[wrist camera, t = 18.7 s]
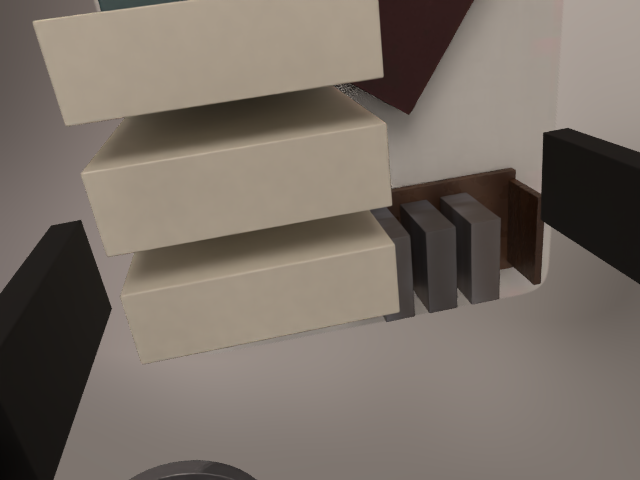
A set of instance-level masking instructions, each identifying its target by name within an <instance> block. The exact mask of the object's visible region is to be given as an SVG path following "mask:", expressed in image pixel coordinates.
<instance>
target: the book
mask: <svg viewBox="0 0 640 480" xmlns="http://www.w3.org/2000/svg"><path fill="white" fill-rule="evenodd" d="M473 1H474V0H378V3H379V17H380V31H381V45H382V60H383V74H384V76H383V78H378V79H372V80H365V81H359V82H352V83H351V84H353V85H355V86H357V87H359V88H360V89H362V90H364V91H366V92H368V93H370V94H372V95H374V96H375V97H377V98H379V99H381V100H382V101H384V102H386V103H388V104H390V105H392V106H394V107H396V108H397V109H399V110H401V111H403V112H404V113H406V114H408V115H409V114H410V113H411V111H412V110H413V108H414V106H415V104H416V102H417V100H418V99H419V97H420V95H421V94H422V92H423V90H424V88H425V87H426V85H427V83H428V81H429V79H430V78H431V76H432V74H433V72H434V71H435V69H436V67H437V65H438V63H439V62H440V60H441V58H442V56H443V55H444V53H445V51H446V49H447V48H448V46H449V44H450V42H451V40H452V38H453V37H454V35H455V33H456V31H457V29H458V27H459V26H460V24H461V22H462V20H463V18H464V17H465V15H466V13H467V11H468V10H469V8H470V6H471V4H472V3H473Z"/></svg>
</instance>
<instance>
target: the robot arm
mask: <svg viewBox="0 0 640 480" xmlns="http://www.w3.org/2000/svg"><path fill="white" fill-rule="evenodd" d="M541 220H542V221H543V222H545V223H546V224H548V225H549V226H551V227H553V228H554V229H556V230H557V231H559V232H560V233H562V234H563V235H565V236H566V237H568V238H569V239H571V240H573V241H574V242H576V243H577V244H579V245H580V246H582V247H583V248H585V249H587V250H588V251H590V252H591V253H593V254H594V255H596V256H597V257H599V258H600V259H602V260H603V261H605V262H606V263H608V264H610V265H611V266H613V267H614V268H616V269H617V270H619V271H620V272H622V273H624V274H625V275H626V276H628V277H630V278H631V279H633V280H634V281H636V282H637V283H639V284H640V152H637V151H634V150H631V149H628V148H625V147H622V146H619V145H616V144H613V143H610V142H607V141H605V140H602V139H599V138H596V137H593V136H590V135H587V134H584V133H581V132H578V131H575V130H572V129H569V128H565V129H560V130H555V131H549V132H544V133H543V161H542V192H541ZM111 309H112V308H111V305H110V302H109V299H108V296H107V293H106V290H105V287H104V285H103V282H102V279H101V276H100V273H99V270H98V267H97V264H96V262H95V259H94V256H93V253H92V250H91V247H90V244H89V241H88V239H87V236H86V233H85V230H84V228H83V224H82V221H81V220H78V221H73V222H68V223H63V224H58V225H52V226H51V227H50V228H49V229H48V231H47V232H46V233H45V235H44V236H43V237H42V239H41V240H40V241H39V243H38V244H37V245H36V247H35V248H34V250H33V251H32V252H31V253H30V255H29V256H28V257H27V259H26V260H25V261H24V263H23V264H22V265H21V267H20V268H19V269H18V271H17V272H16V273H15V275H14V276H13V277H12V279H11V280H10V281H9V283H8V284H7V285H6V287H5V288H4V289H3V291H2V292H1V293H0V480H53V479H54V476H55V473H56V471H57V467H58V465H59V462H60V459H61V456H62V453H63V450H64V447H65V444H66V441H67V438H68V435H69V433H70V430H71V426H72V423H73V421H74V418H75V415H76V412H77V409H78V406H79V403H80V400H81V397H82V394H83V392H84V389H85V386H86V383H87V380H88V377H89V374H90V371H91V368H92V365H93V362H94V359H95V356H96V353H97V350H98V347H99V345H100V341H101V339H102V336H103V333H104V330H105V327H106V324H107V321H108V318H109V315H110V312H111Z"/></svg>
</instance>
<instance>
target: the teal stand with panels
mask: <svg viewBox="0 0 640 480" xmlns="http://www.w3.org/2000/svg"><path fill="white" fill-rule="evenodd" d="M98 1H99V5H100V9H101V12H104V11H111V10H119V9H126V8H134V7H141V6H149V5H156V4H164V3H171V2H179V1H186V0H98ZM81 177H82V180H83V183H84V186H85V190H86V193H87V196H88V199H89V202H90V205H91V208H92V211H93V215H94V218H95V221H96V224H97V227H98V230H99V233H100V237H101V240H102V243H103V246H104V249H105V252H106V255H107V257H111V256H118V255H123V254H128V253H134V255H133V259H132V262H131V265H130V268H129V271H128V274H127V277H126V280H125V283H124V286H123V289H122V292H121V295H120V299H121V301H122V305H123V308H124V311H125V314H126V317H127V320H128V324H129V326H130V330H131V333H132V336H133V339H134V342H135V345H136V349H137V352H138V355H139V358H140V361H141V364H148V363H152V362H158V361H163V360H168V359H172V358H178V357H182V356H187V355H192V354H197V353H202V352H207V351H212V350H217V349H222V348H227V347H232V346H237V345H241V344H246V343H251V342H256V341H261V340H266V339H271V338H276V337H281V336H286V335H291V334H295V333H300V332H305V331H310V330H315V329H320V328H325V327H330V326H335V325H340V324H345V323H350V322H354V321H359V320H364V319H369V318H374V317H379V316H384V315H389V314H394V313H398V312H399V311H400V308H399V294H398V280H397V266H396V252H395V244H394V243H393V241H392V240H391V239H390V237H389V236H388V235H387V233H386V232H385V231H384V229H383V228H382V227H381V225H380V224H379V222H378V221H377V220H376V218H375V217H374V216H373V214H372V213H371V212H370V210H372V209H377V208H383V207H388V206H392V193H391V179H390V165H389V151H388V137H387V124H386V123H385V122H384V121H382V120H381V119H379V118H378V117H377V116H375V115H374V114H372V113H371V112H369V111H368V110H367V109H365V108H364V107H362V106H361V105H360V104H358V103H357V102H355V101H354V100H352V99H351V98H350V97H348V96H347V95H345V94H344V93H343V92H341V91H340V90H338V89H337V88H335V87H334V86H326V87H320V88H313V89H307V90H300V91H294V92H287V93H281V94H275V95H268V96H262V97H255V98H249V99H242V100H236V101H229V102H223V103H216V104H210V105H203V106H197V107H190V108H184V109H177V110H171V111H165V112H158V113H152V114H145V115H139V116H132V117H126V118H124V120H123V121H122V122H121V123H120V125H119V126H118V127H117V128H116V130H115V131H114V132H113V133H112V135H111V136H110V137H109V138H108V140H107V141H106V142H105V143H104V145H103V146H102V147H101V149H100V150H99V151H98V152H97V154H96V155H95V156H94V157H93V159H92V160H91V161H90V162H89V164H88V165H87V166H86V167H85V169H84V170H83V171H82V173H81Z"/></svg>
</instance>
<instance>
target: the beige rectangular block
mask: <svg viewBox="0 0 640 480" xmlns="http://www.w3.org/2000/svg"><path fill="white" fill-rule="evenodd" d="M33 26H34V29H35V32H36V35H37V38H38V41H39V45H40V48H41V51H42V54H43V57H44V60H45V63H46V67H47V70H48V73H49V76H50V79H51V82H52V85H53V88H54V92H55V95H56V98H57V101H58V104H59V107H60V110H61V113H62V117H63V120H64V123H65V125H66V126H74V125H80V124H87V123H93V122H100V121H106V120H112V119H119V118H126V117H132V116H139V115H145V114H152V113H158V112H165V111H171V110H177V109H184V108H190V107H197V106H203V105H210V104H216V103H223V102H229V101H236V100H242V99H249V98H255V97H262V96H268V95H275V94H281V93H287V92H294V91H300V90H307V89H313V88H320V87H326V86H333V85H339V84H346V83H352V82H359V81H365V80H372V79H378V78H383V76H384V74H383V60H382V45H381V31H380V17H379V3H378V0H186V1H179V2H171V3H164V4H156V5H149V6H141V7H134V8H126V9H119V10H111V11H104V12H96V13H88V14H82V15H74V16H66V17H59V18H51V19H43V20H36V21H33Z"/></svg>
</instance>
